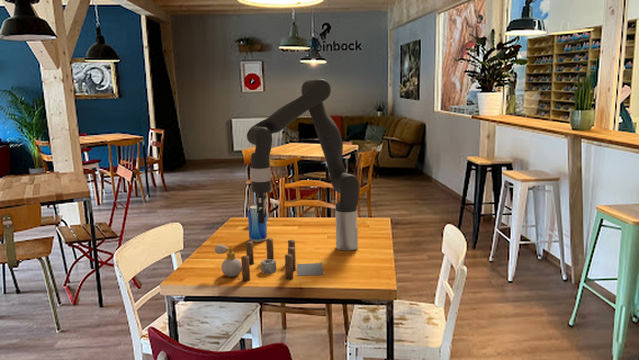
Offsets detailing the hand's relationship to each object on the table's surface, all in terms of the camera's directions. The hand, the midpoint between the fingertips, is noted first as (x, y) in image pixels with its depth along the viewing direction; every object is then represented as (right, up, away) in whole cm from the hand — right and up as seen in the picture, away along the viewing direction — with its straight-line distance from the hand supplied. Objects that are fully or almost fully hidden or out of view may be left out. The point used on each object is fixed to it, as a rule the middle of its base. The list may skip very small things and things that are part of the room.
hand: (262, 220), depth 183 cm
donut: (-9, -8, +63) cm, 64 cm away
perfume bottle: (-12, -21, -3) cm, 25 cm away
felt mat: (+18, -19, +1) cm, 27 cm away
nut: (+2, -20, 0) cm, 20 cm away
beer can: (-7, -13, +39) cm, 42 cm away
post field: (+3, -19, +2) cm, 20 cm away
